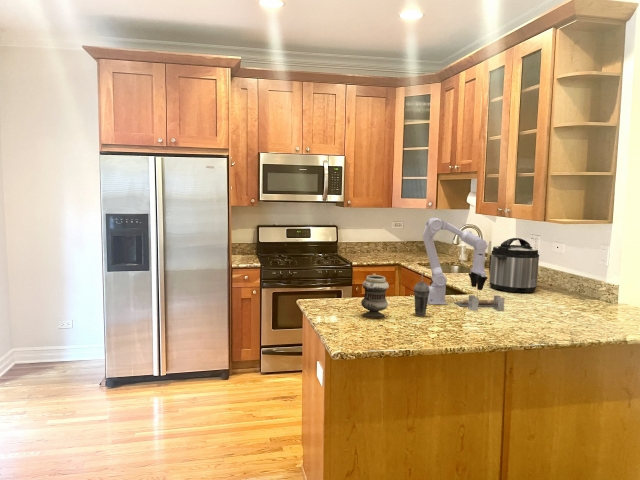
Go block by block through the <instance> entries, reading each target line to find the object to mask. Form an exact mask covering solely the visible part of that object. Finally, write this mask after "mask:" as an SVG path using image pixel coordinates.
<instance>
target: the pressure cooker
mask: <svg viewBox="0 0 640 480" xmlns="http://www.w3.org/2000/svg"><path fill="white" fill-rule="evenodd" d="M515 241H518V243H519V244H520V245H519V244H513V242H515ZM539 260H540V254H539V250H538V249H534V248H533V246H531V244H530V243H529V242H528V241H527V240H525V239H523V238H519V237H512V238H509V239H506V240H504V241H502V243H500V245H496V246H493V247H492V250H491V253H490V255H489V261H488V262H489V263H488V269H489V271H488V272H489V287H491V288H492V289H495V290H502V291H505V292H511V293H512V292H513V293H515V292H517V293H526V294H527V293H532V292H533V293H534V292H535V291H536V289H537V285H538V275H539V274H538V272H539V263H540V261H539Z"/></svg>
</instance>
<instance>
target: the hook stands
mask: <svg viewBox="0 0 640 480" xmlns="http://www.w3.org/2000/svg"><path fill="white" fill-rule="evenodd" d="M467 300H468V307H467V308H468V309H469V310H470V311H472V312H473V311H477V312H478V311H479V307H478V303H479V300H480V297H479V296H476V295H474V294H473V295H472V294H471V295H470V294H469V295H468V299H467ZM493 300H494V303H493V307H492V308H493V310H496V311H497V312H504V310H505V297H501V295H493Z"/></svg>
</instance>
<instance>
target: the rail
mask: <svg viewBox="0 0 640 480" xmlns="http://www.w3.org/2000/svg"><path fill="white" fill-rule="evenodd" d="M468 300H469V299H468V298H467V299H460V300H459V302H460V303H461V304H468ZM493 303H494V299H479V303H478V304H483V305H493Z"/></svg>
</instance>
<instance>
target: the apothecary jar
mask: <svg viewBox="0 0 640 480" xmlns="http://www.w3.org/2000/svg"><path fill="white" fill-rule="evenodd" d="M361 286H362V288H363V289H364V297H363V298H362V300H361V301H360V304H361V305H360V306H362V307H363V308H364V309H366V310H368V311H366V312H364V313H362V316H363V317H365V318H368V319H384V318H385V317H386V316H385V314H384V313H382V311H383V310H386V309H387V308H388V306H389V302H388V301H387V300H386V298H387V297H386V295H387V293H386V292H387V290H389V287H390V285H389V283H388V281H387V280H386V277H385V276H383V275H375V274H369V275H366V279H365V280H364V281H363V282H362V285H361ZM380 311H381V312H380Z"/></svg>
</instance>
